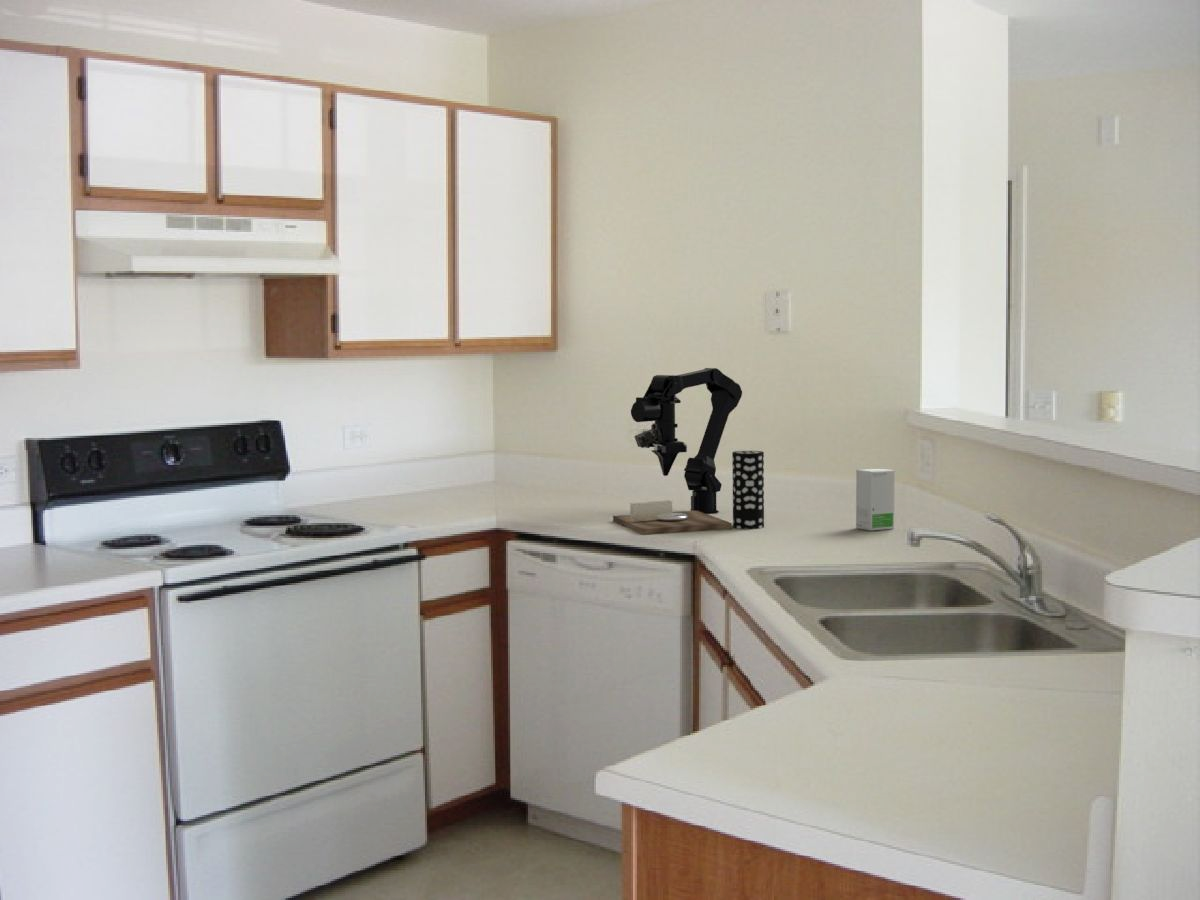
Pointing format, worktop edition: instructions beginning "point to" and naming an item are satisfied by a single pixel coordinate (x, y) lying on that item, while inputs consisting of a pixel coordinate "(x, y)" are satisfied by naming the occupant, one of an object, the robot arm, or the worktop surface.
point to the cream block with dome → (654, 511)
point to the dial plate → (675, 523)
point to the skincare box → (874, 499)
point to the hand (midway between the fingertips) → (665, 475)
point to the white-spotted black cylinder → (748, 489)
